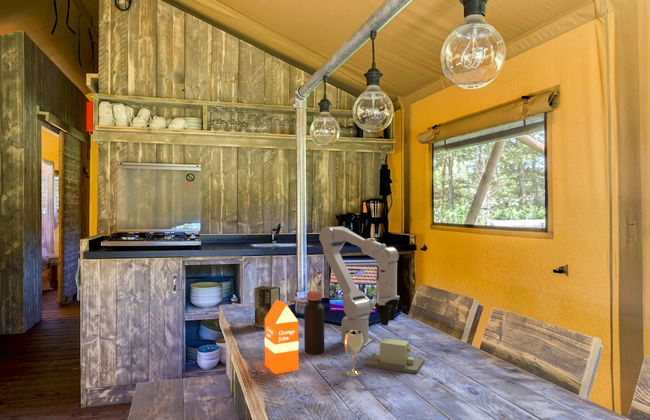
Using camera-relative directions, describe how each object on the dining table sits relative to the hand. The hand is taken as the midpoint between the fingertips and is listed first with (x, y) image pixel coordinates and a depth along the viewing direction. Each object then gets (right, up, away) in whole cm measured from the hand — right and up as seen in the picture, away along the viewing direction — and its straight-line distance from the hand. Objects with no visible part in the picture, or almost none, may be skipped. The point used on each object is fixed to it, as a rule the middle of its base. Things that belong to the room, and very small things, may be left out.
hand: (387, 322), depth 151 cm
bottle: (-25, -10, -2) cm, 27 cm away
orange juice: (-35, -10, -16) cm, 40 cm away
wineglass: (-13, -10, -21) cm, 27 cm away
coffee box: (-45, -10, +31) cm, 56 cm away
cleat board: (0, -9, -14) cm, 17 cm away
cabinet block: (0, -8, -14) cm, 17 cm away
